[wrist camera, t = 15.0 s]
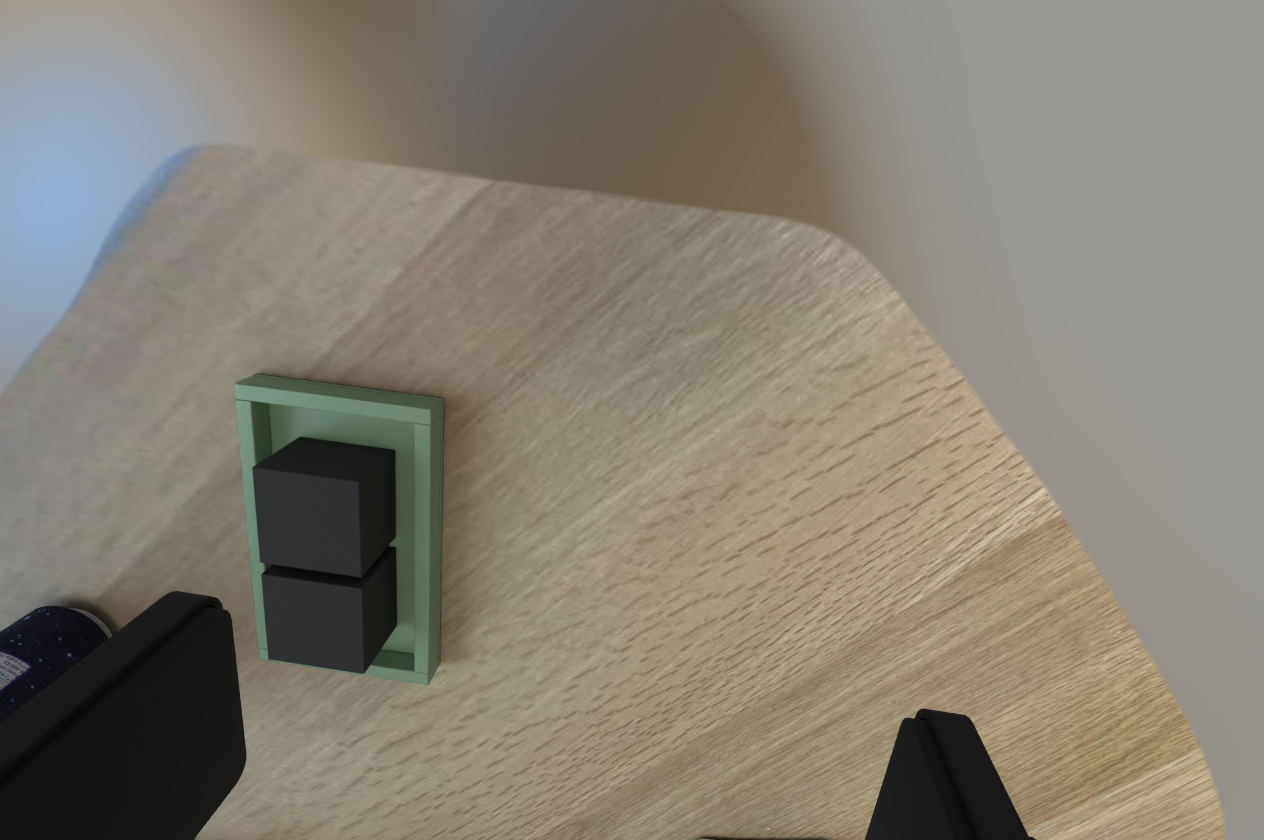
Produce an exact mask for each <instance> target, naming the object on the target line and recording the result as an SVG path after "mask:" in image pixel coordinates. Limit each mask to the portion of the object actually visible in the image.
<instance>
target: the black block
mask: <svg viewBox="0 0 1264 840" xmlns="http://www.w3.org/2000/svg"><path fill="white" fill-rule="evenodd" d="M261 580H262V592H263V603H264V615H265V627H266V638H267V650H268V659H269V660H275V661H282V662H288V663H295V664H301V665H308V666H314V667H321V668H327V669H334V670H341V671H347V672H354V673H360V674H365V672H366V671H367V669H368V668H369V666H370V665H371V663H372V662H373V661H374V659H375V658H376V656H377V655H378V653H379V652H380V650H381V649H382V647H383V646H384V644H385V643H386V641H387V640H388V638H389V637H390V635H391V634H392V632H393V631H394V630H395V628H396V627H397V574H396V547H390V546H388V547H387V548H386V549H385V550H384V551H383V553H382V554H381V555H380V556H379V557H378V558H377V560H376V561H375V562H374V563H373V564H372V565H371V567H370V568H369V569H368V570H367V571H366V573H365V574H364V575H363V576H362V577H355V576H348V575H341V574H334V573H328V572H321V571H314V570H307V569H301V568H294V567H287V566H280V565H274V564H272V565H271V566H270V567H269V568H267V569H266V570H265V571H264V572H263V573H262V574H261Z"/></svg>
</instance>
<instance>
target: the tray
mask: <svg viewBox="0 0 1264 840" xmlns="http://www.w3.org/2000/svg"><path fill="white" fill-rule="evenodd" d="M234 391H235V399H236V411H237V422H238V433H239V444H240V455H241V466H242V477H243V487H244V498H245V509H246V520H247V531H248V542H249V553H250V564H251V575H252V586H253V597H254V608H255V619H256V629H257V640H258V647H259V649H258V650H259V659H260V660H266V661H273V662H280V663H286V664H293V665H299V666H306V667H312V668H319V669H325V670H332V671H338V672H345V673H351V674H358V675H364V676H371V677H377V678H384V679H390V680H397V681H403V682H410V683H416V684H423V685H428V684H429V683H430V681H431V679H432V677H433V675H434V673H435V671H436V669H437V668H438V666H439V664H440V611H441V546H442V482H443V417H444V399H443V398H437V397H429V396H421V395H414V394H406V393H399V392H391V391H384V390H376V389H368V388H361V387H353V386H346V385H338V384H330V383H323V382H315V381H308V380H300V379H292V378H285V377H277V376H270V375H262V374H255V375H252V376H250V377H248V378H246V379H243V380H241V381H239V382H236V383H234ZM299 437H306V438H313V439H320V440H328V441H335V442H342V443H349V444H357V445H364V446H371V447H378V448H386V449H393V450H395V474H396V537H395V538H394V540H393V541H392V542H391V543H390V544H389V546H390V547H396V574H397V627H396V628H395V630H394V631H393V632H392V634H391V635H390V637H389V638H388V640H387V641H386V643H385V644H384V646H383V647H382V649H381V650H380V652H379V653H378V655H377V656H376V658H375V659H374V661H373V662H372V663H371V665H370V666H369V668H368V669H367V671H366V672H365V674H360V673H354V672H347V671H341V670H334V669H327V668H321V667H314V666H308V665H301V664H295V663H288V662H282V661H275V660H269V659H268V650H267V638H266V627H265V615H264V603H263V592H262V580H261V574H262V573H263V572H264V571H265V570H266V569H267V568H269V567H270V566H271V565H272V564H267V563H261V562H260V556H259V544H258V532H257V520H256V508H255V496H254V484H253V472H252V467H253V466H255V465H256V464H258V463H260V462H261V461H263V460H264V459H266V458H267V457H269V456H270V455H272V454H274V453H275V452H277V451H278V450H280V449H281V448H283V447H284V446H286V445H288V444H289V443H291V442H292V441H294V440H295V439H297V438H299Z"/></svg>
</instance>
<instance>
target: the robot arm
mask: <svg viewBox="0 0 1264 840" xmlns="http://www.w3.org/2000/svg"><path fill="white" fill-rule="evenodd" d="M245 762H246V746H245V737H244V727H243V718H242V709H241V700H240V691H239V682H238V673H237V664H236V654H235V645H234V636H233V627H232V619H231V615H230V613H229V612H228V611H227V610H224V609H223V607H222V603H221V602H220V601H219V599H218V598H215V597H211V596H205V595H198V594H192V593H186V592H179V591H175V592H170V593H168V594H166V595H165V596H163V597H162V598H160V599H159V600H158V601H157V602H155V603H154V604H153V605H151V606H150V607H149V608H148V609H146V610H145V611H144V612H142V613H141V614H140V615H139V616H137V617H136V618H135V619H133V620H132V621H131V622H130V623H128V624H127V625H126V626H124V627H123V628H122V629H121V630H119V631H118V632H117V633H115V634H114V635H113V636H112V637H110V638H109V639H108V640H106V641H105V642H104V643H103V644H101V645H100V646H99V647H97V648H96V649H95V650H94V651H92V652H91V653H90V654H88V655H87V656H86V657H85V658H83V659H82V660H81V661H79V662H78V663H77V664H76V665H74V666H73V667H72V668H71V669H69V670H68V671H67V672H65V673H64V674H63V675H62V676H60V677H59V678H58V679H56V680H55V681H54V682H53V683H51V684H50V685H49V686H47V687H46V688H45V689H44V690H42V691H41V692H40V693H38V694H37V695H36V696H35V697H33V698H32V699H31V700H29V701H28V702H27V703H26V704H24V705H23V706H22V707H20V708H19V709H18V710H17V711H15V712H14V713H13V714H11V715H10V716H9V717H8V718H6V719H5V720H4V721H2V722H1V723H0V840H194V838H195V837H196V836H197V834H198V833H199V832H200V831H201V829H202V828H203V827H204V825H205V824H206V823H207V821H208V820H209V819H210V818H211V816H212V815H213V814H214V812H215V811H216V810H217V808H218V807H219V806H220V805H221V803H222V802H223V801H224V799H225V798H226V797H227V795H228V794H229V793H230V792H231V790H232V789H233V788H234V786H235V785H236V783H237V782H238V780H239V779H240V777H241V775H242V772H243V769H244V767H245ZM865 840H1036V839H1035V838H1033V837H1029V836H1028V834H1027V832H1026V830H1025V828H1024V826H1023V824H1022V822H1021V820H1020V818H1019V816H1018V814H1017V812H1016V810H1015V808H1014V806H1013V804H1012V802H1011V800H1010V798H1009V796H1008V794H1007V792H1006V789H1005V787H1004V785H1003V783H1002V781H1001V779H1000V777H999V775H998V773H997V771H996V769H995V767H994V765H993V763H992V761H991V759H990V757H989V755H988V753H987V751H986V749H985V747H984V744H983V742H982V740H981V738H980V736H979V734H978V732H977V730H976V728H975V726H974V724H973V723H972V721H971V720H970V718H969V717H967V716H966V715H961V714H955V713H948V712H942V711H936V710H929V709H920V710H919V711H918V712H917V714H916V716H915V718H914V719H912V718H905V719H904V720H903V721H902V723H901V726H900V729H899V732H898V735H897V738H896V742H895V745H894V748H893V751H892V754H891V758H890V761H889V764H888V767H887V771H886V774H885V777H884V780H883V783H882V787H881V790H880V793H879V796H878V799H877V803H876V806H875V809H874V812H873V815H872V819H871V822H870V825H869V828H868V832H867V835H866V838H865Z"/></svg>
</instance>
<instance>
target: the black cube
mask: <svg viewBox="0 0 1264 840" xmlns="http://www.w3.org/2000/svg"><path fill="white" fill-rule="evenodd" d="M252 472H253V484H254V496H255V508H256V520H257V532H258V544H259V556H260V562H261V563H267V564H274V565H280V566H287V567H294V568H301V569H307V570H314V571H321V572H328V573H334V574H341V575H348V576H355V577H362V576H363V575H364V574H365V573H366V571H367V570H368V569H369V568H370V567H371V565H372V564H373V563H374V562H375V561H376V560H377V558H378V557H379V556H380V555H381V554H382V553H383V551H384V550H385V549H386V548H387V547H388V546H389V544H390V543H391V542H392V541H393V540H394V538H395V537H396V474H395V450H393V449H386V448H378V447H371V446H364V445H357V444H349V443H342V442H335V441H328V440H320V439H313V438H306V437H299V438H297V439H295V440H294V441H292V442H291V443H289V444H288V445H286V446H284V447H283V448H281V449H280V450H278V451H277V452H275V453H274V454H272V455H270V456H269V457H267V458H266V459H264V460H263V461H261V462H260V463H258V464H256V465H255V466H253V467H252Z"/></svg>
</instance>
